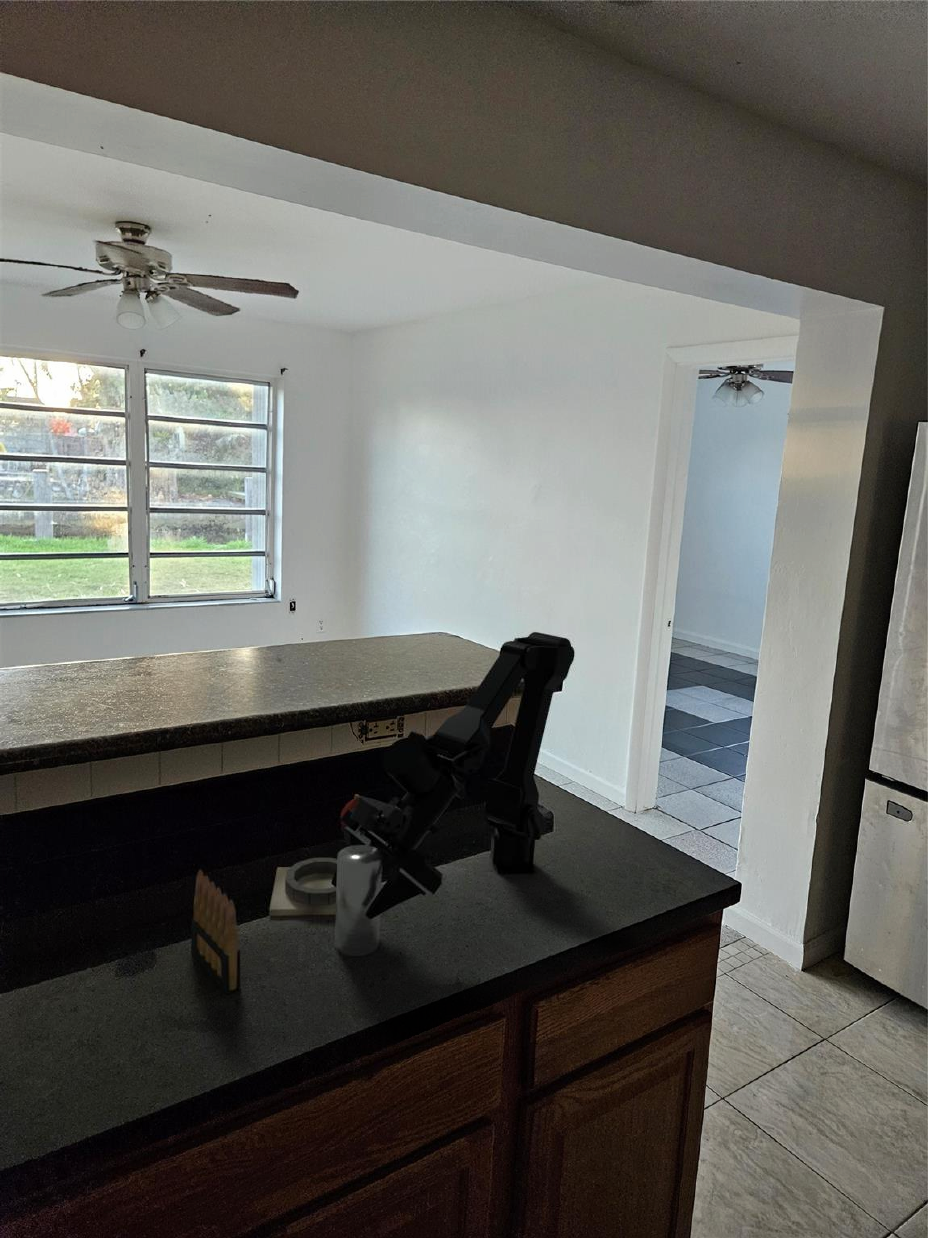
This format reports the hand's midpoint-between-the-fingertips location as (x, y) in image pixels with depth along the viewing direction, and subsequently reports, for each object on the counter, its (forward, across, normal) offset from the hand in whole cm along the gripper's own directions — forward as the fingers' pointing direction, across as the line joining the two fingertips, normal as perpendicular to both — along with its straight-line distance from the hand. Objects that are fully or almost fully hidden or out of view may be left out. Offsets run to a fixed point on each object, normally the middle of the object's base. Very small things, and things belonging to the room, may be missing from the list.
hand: (350, 901), depth 106 cm
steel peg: (+4, 0, +6) cm, 7 cm away
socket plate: (+3, -14, +7) cm, 16 cm away
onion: (-7, -27, +17) cm, 32 cm away
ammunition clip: (+17, -5, -7) cm, 19 cm away
